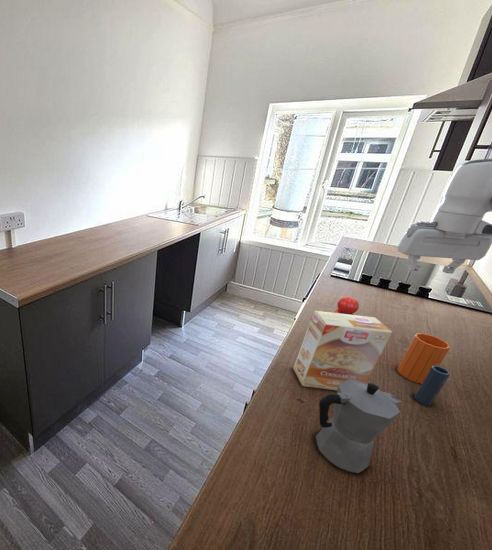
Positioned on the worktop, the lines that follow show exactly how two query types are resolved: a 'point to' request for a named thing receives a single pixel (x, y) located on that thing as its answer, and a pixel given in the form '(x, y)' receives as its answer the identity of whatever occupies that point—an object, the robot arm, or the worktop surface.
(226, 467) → the worktop surface
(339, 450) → the coffeepot
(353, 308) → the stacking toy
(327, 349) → the coffeecake box
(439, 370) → the slim cup
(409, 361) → the orange staved tumbler
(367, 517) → the worktop surface
